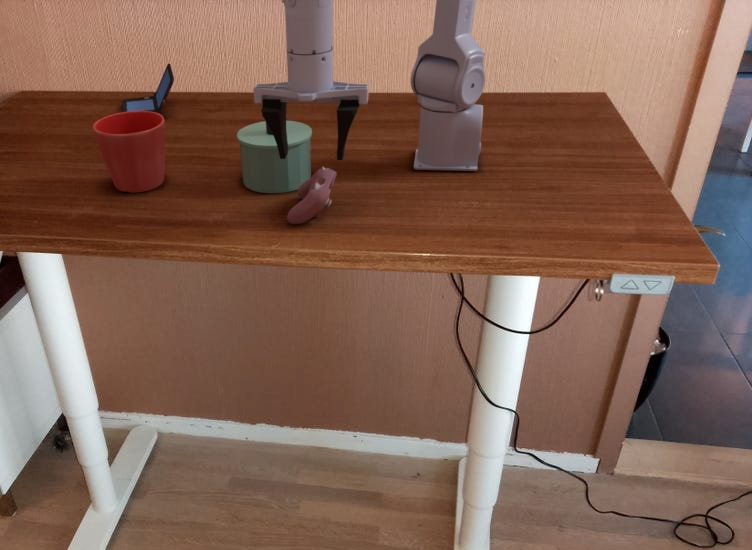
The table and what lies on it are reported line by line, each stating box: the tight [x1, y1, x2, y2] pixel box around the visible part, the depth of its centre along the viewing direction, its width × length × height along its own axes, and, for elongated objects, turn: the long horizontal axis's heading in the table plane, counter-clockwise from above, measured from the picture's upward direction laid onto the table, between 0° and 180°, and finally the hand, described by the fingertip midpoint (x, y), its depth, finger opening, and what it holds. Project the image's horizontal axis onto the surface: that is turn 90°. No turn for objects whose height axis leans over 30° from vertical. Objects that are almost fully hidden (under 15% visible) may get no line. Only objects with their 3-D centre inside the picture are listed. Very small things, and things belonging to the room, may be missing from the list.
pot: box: [239, 138, 312, 194], centre depth 109 cm, size 10×10×7 cm
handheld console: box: [121, 63, 175, 116], centre depth 141 cm, size 12×11×7 cm
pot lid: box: [236, 119, 313, 149], centre depth 106 cm, size 11×11×4 cm
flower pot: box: [92, 111, 166, 193], centre depth 110 cm, size 11×11×10 cm
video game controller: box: [286, 165, 338, 225], centre depth 99 cm, size 10×5×7 cm, turn 168°
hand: (312, 157), depth 96 cm, fingers open, 7 cm apart
